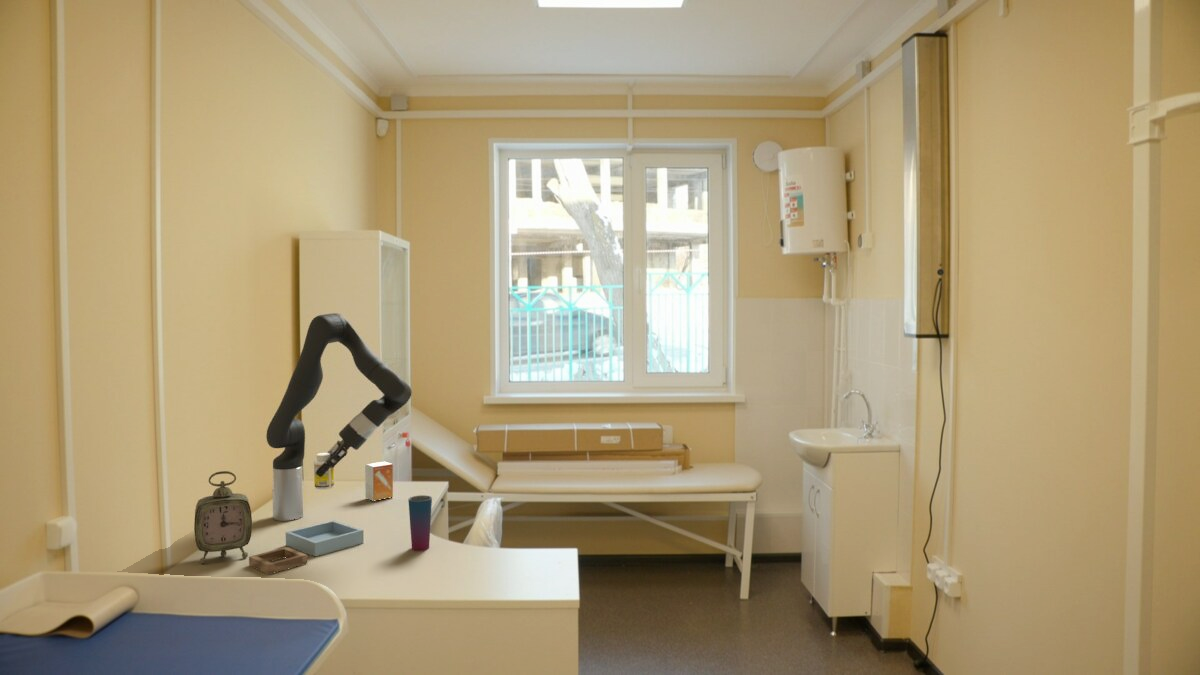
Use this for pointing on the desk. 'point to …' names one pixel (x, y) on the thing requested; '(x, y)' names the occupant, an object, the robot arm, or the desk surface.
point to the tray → (324, 538)
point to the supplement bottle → (328, 477)
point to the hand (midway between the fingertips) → (317, 472)
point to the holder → (263, 561)
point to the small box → (378, 480)
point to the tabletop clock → (222, 520)
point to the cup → (420, 521)
